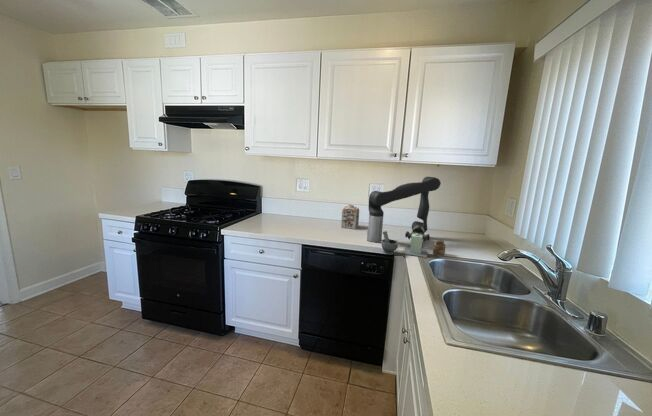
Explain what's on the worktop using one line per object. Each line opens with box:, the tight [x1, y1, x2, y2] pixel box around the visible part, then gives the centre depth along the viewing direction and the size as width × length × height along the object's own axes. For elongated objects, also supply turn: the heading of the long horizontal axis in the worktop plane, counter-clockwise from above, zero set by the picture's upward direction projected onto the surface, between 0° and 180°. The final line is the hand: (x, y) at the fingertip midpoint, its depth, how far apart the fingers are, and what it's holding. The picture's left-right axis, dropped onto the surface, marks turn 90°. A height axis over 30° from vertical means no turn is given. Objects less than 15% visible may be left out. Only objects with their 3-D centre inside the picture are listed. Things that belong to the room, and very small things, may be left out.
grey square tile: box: [402, 246, 428, 259], centre depth 161 cm, size 13×13×1 cm
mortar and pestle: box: [380, 230, 399, 255], centre depth 159 cm, size 11×9×12 cm
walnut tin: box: [432, 239, 447, 257], centre depth 160 cm, size 6×6×8 cm
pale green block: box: [409, 233, 423, 254], centre depth 160 cm, size 6×6×11 cm
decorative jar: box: [340, 203, 360, 230], centre depth 215 cm, size 12×12×18 cm
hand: (416, 238), depth 163 cm, fingers open, 8 cm apart
